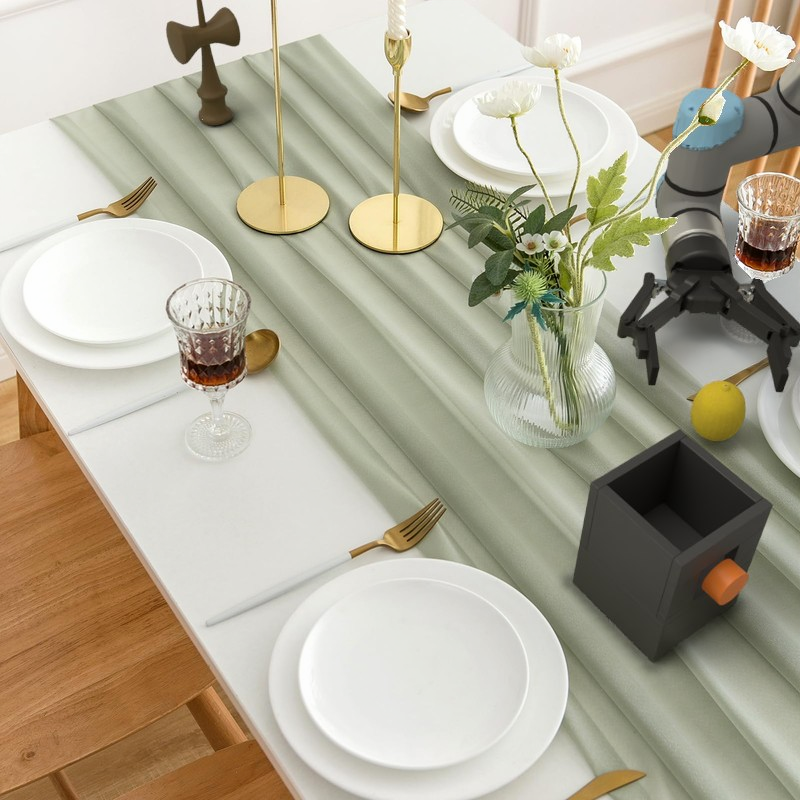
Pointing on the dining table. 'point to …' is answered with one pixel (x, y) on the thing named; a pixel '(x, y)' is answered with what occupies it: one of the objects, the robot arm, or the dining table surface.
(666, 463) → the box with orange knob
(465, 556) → the dining table surface
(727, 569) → the power button
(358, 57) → the dining table surface
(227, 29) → the kendama
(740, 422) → the lemon
